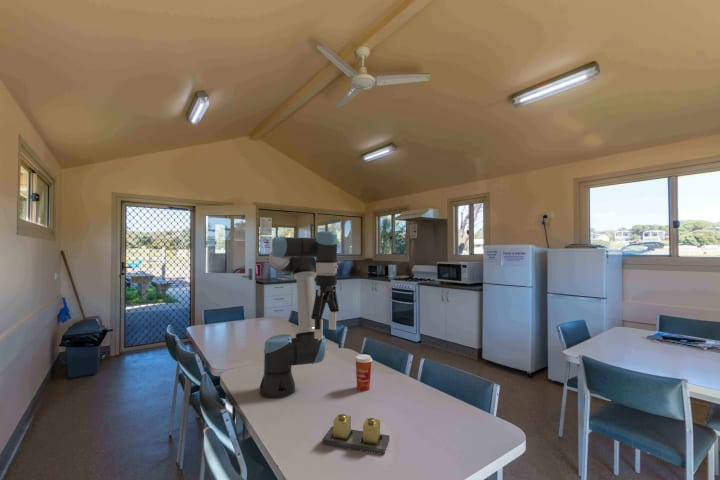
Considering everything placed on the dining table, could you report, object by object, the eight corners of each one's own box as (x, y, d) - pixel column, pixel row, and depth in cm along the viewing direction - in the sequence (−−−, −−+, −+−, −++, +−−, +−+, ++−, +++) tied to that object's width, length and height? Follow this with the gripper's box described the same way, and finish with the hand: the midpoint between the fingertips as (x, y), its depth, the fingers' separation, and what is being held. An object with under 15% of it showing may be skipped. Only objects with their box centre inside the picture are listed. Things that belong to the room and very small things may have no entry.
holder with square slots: (322, 444, 107) (323, 419, 108) (331, 431, 115) (331, 407, 115) (384, 454, 102) (384, 428, 102) (389, 440, 110) (389, 416, 110)
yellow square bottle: (333, 442, 108) (333, 418, 108) (337, 435, 112) (338, 411, 113) (346, 445, 107) (346, 420, 107) (350, 437, 111) (350, 413, 112)
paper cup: (351, 389, 149) (351, 357, 149) (359, 383, 156) (360, 353, 156) (367, 393, 145) (367, 360, 146) (375, 387, 152) (375, 355, 152)
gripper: (323, 277, 108) (322, 343, 108) (346, 272, 132) (346, 326, 132) (301, 276, 110) (301, 342, 110) (328, 271, 134) (328, 325, 134)
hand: (325, 333), depth 121 cm, fingers open, 13 cm apart
